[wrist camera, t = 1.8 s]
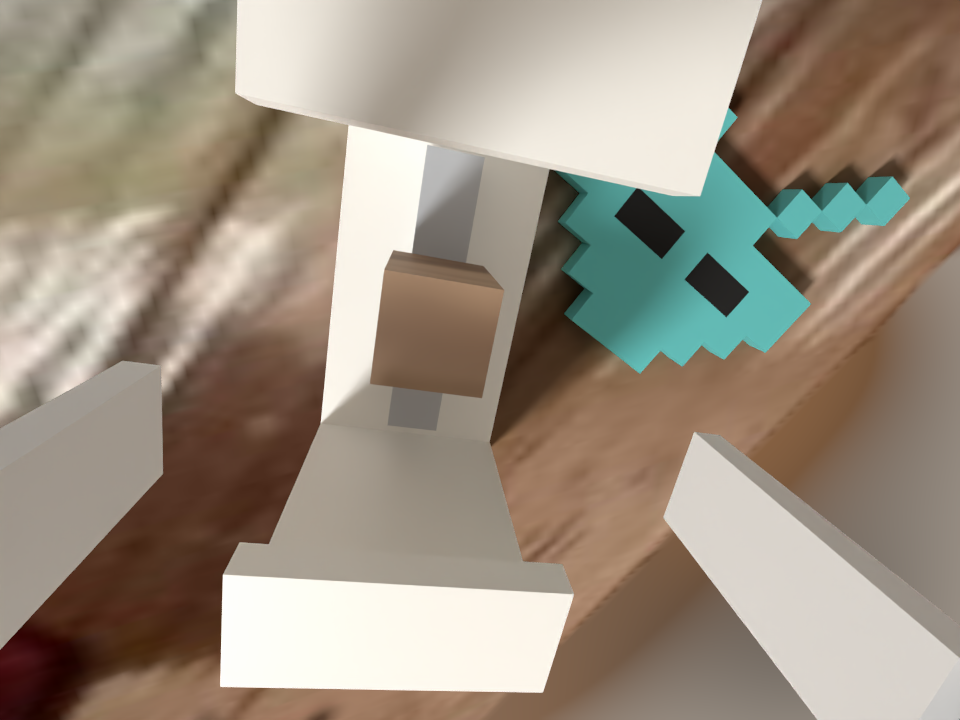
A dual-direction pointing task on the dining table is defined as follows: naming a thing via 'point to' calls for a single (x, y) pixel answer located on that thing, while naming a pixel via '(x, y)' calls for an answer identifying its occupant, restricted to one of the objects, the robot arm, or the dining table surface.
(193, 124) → the dining table surface
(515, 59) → the box
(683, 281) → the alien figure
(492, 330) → the walnut block
